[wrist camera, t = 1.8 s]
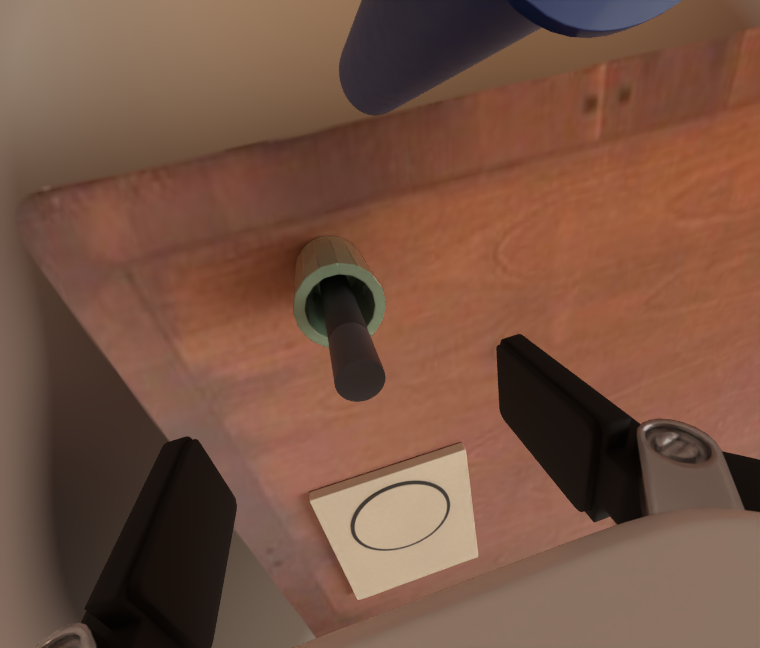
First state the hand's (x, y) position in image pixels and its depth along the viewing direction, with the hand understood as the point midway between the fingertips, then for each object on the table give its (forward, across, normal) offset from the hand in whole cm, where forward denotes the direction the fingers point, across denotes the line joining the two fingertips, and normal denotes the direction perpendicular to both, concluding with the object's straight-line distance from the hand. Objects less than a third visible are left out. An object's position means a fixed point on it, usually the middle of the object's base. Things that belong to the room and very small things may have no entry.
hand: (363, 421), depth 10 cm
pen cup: (+15, 0, 0) cm, 15 cm away
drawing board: (+16, 0, +31) cm, 34 cm away
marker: (+15, 0, 0) cm, 15 cm away
